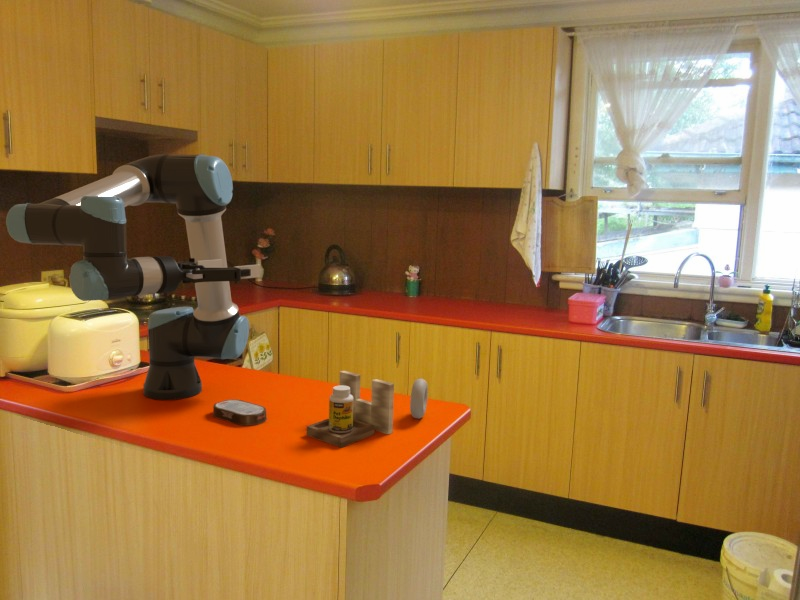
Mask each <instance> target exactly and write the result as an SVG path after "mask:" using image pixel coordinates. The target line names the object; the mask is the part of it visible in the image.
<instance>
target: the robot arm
mask: <svg viewBox="0 0 800 600" xmlns="http://www.w3.org/2000/svg"><path fill="white" fill-rule="evenodd" d="M233 191H234V186H233V178H232V174H231V172H230V169H229V167H228V166H227V164H226V162H225V161H224V160H223V159H221V158H220V157H219V156H215V155H205V154H167V153H166V154H165V153H164V154H163V153H162V154H155V155H149V156H146V157H144V158H143V157H142V158H140V159H136V160H134V161H131V162H128V163H125V164H123V165H120V166H119V167H117V168H116V169H115V170H113V172H112V174H111V175H108V176H105V177H102V178H100V179H99V180H95V181H93V182H90V183H88V184H86V185H83V186H80V187H78V188H76V189H73V190H71V191H68V192H66V193H63V194H61V195H58V196H55V197H54V198H51V199H47V200H45V201H42V202H40V203H31V202H26V203H18V204H14V205H13V206H12V207H10V209H8V210H9V211H8V212H7V215H6V217H5V219H6V220H5V225H6V228H7V233H8V234H9V236H10V238H12V239H13V240H14V241H16V242H18V243H23V244H31V245H54V246H57V245H58V246H80V247H82V248H83V250H82V251H83V254H82V257H83V258H82V260H80V261H75V262H74V263H73V264H72V266H71V267H70V273H69V276H68V277H69V278H68V279H69V286H70V288H71V291H72V292H73V293H72V294H74V296H75V297H76V298H77V299H78V300H81V301H83V302H87V301H88V302H90V301H107V300H113V299H114V300H115V299H121V298H122V299H123V298H130V297H136V296H137V298H139V299H144V296H145V295H146V296H147V295H155V294H159V295H160V294H168V293H172V292H175V291H176V290H177V289H178V287H179V286H180V283H182V284H191V283H194V287H195V294H196V301H197V307H196V308H195V309H194V308H193V306H177V307H170V308H164V309H159V310H156V311H153V312H151V313H150V314H149V315H148V320H147V333H148V334H147V335H148V355H149V357H148V359H149V360H148V361H149V365H148V366H149V367H148V370H147V374H146V377H145V380H144V383H143V387H142V388H143V395H144V396H145V397H147V398H149V399H152V400H159V401H160V400H161V401H163V400H164V401H169V400H181V399H185V398H186V399H187V398H190V397H194V396H197V395H198V394H200V393H201V392H202V390H203V389H202V387H203V386H202V384H203V383H202V380H201V377H200V374H199V371H198V369H197V366H196V364H195V363H196V362H195V357H196V358H208V359H209V358H210V359H221V360H226V359H227V360H228V359H229V360H235V359H238V358H239V357H241V355H242V354H243V353H244V351H245V349H246V346H247V343H248V340H249V334H250V321H249V319H248V318H247V316H245V315H240V311H239V309H240V308H239V306H238V305H237V304H236V303H234V301H232V295H231V294H232V293H231V286H230V282H234V284H238V283H239V282H241V281H242V280H243V279H244V280H245V279H255V278H261V264H247V265H237V266H233V267H228V262H227V255H226V254H227V253H226V246H225V239H224V231H223V230H224V229H223V221H222V215H223V214H224V213H225V212H226V211H227V205H228V204H230V203H231V201H232V198H233ZM145 203H147V204H148V203H163V204H175V206H176V210H177V211H176V212H177V214H178V215H179V216H180V217H181V218H183V219H184V220H185V221H184V223H185V227H186V234H187V241H188V247H189V255H190V258H189V259H188V260H181V261H176V259H175V258H173V256H170V255H162V256H139V257H138V256H137V257H130V258H128V254H127V253H128V251H127V250H128V249H127V218H126V210H125V208H126V207H128V206H132V207H135V206H136V207H137V206H140V205H142V204H145Z"/></svg>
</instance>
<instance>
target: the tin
mask: <svg viewBox="0 0 800 600" xmlns="http://www.w3.org/2000/svg"><path fill="white" fill-rule="evenodd" d="M212 415H213V417H214V418H215V419H219V420H222V421H226V422H228V423H232V424H235V425H239V426H256V425H261V424H263V423H264V422H265V423H266V421H267V419H268V418H267V408H266V407H264V406H263V405H260V404H256V403H252V402H249V401H244V400H241V399H236V398H235V399H226V400H222V401H219V402H215V403H214V404H213V414H212Z"/></svg>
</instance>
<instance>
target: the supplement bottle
mask: <svg viewBox="0 0 800 600" xmlns="http://www.w3.org/2000/svg"><path fill="white" fill-rule="evenodd" d="M353 400H354V399H353V396H352V395H351V394H350V387H349V386H344V385H339V384H338V385H336V386H333V387H332V394H331V395H330V396H329V401H328V419H329V430H330V431H331V432H333V433H338V434H343V433H348V432H350V431H351V430H352V429H353Z"/></svg>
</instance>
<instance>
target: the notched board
mask: <svg viewBox="0 0 800 600" xmlns="http://www.w3.org/2000/svg"><path fill="white" fill-rule="evenodd" d="M339 385H344V386H349V387H350V394H351V395H352V396H353V399H354V400H353V419H356V420H359V421H362V422H365V423H368V424H371V425H374V431H377V432H380V433H382V434H385V435H390V434H392V433H393V432H394V431H393V429H394V427H393V425H394V398H395V397H394V391H395V385H394V383H392V382H389V381H385V380H382V379H377V378H375V379H372V380H371V401H369V400H365V399H362V398H361V374H359V373H354V372H351V371H347V370H340V371H339V384H338V386H339Z"/></svg>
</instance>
